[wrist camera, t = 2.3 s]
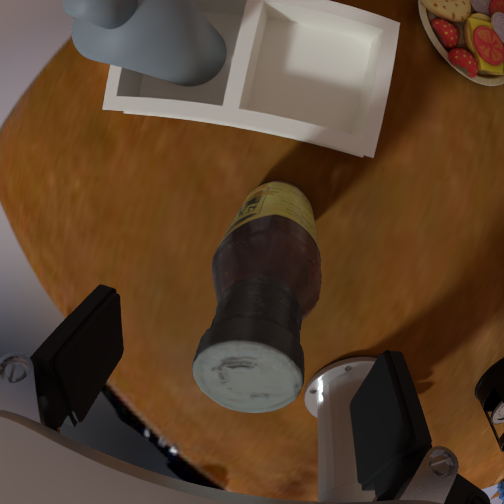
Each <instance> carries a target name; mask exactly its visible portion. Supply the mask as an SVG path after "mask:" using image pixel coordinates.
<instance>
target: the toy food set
mask: <svg viewBox="0 0 504 504" xmlns="http://www.w3.org/2000/svg"><path fill="white" fill-rule="evenodd" d="M418 7H419V13H420V17H421V20H422V23H423V26H424V28H425V30H426V32H427V34H428V36H429V38H430V40H431V42H432V43H433V45H434V46H435V48H436V49H437V50H438V52H439V53H440V54H441V55H442V57H443V58H444V59H445V60H446V61H447V62H448V63H449V64H450V65H451V66H452V67H453V68H454V69H455V70H457V71H458V72H459V73H461V74H462V75H463V76H465V77H467V78H468V79H470V80H472V81H474V82H476V83H479V84H482V85H487V86H497V85H501V84H504V0H418Z"/></svg>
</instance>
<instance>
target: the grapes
mask: <svg viewBox="0 0 504 504" xmlns="http://www.w3.org/2000/svg"><path fill="white" fill-rule="evenodd" d="M497 488H498V489H499V490H498V492H499V493H500V496H499V499H501V500H503V503H502V504H504V482H499V484H498V487H497Z"/></svg>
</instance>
